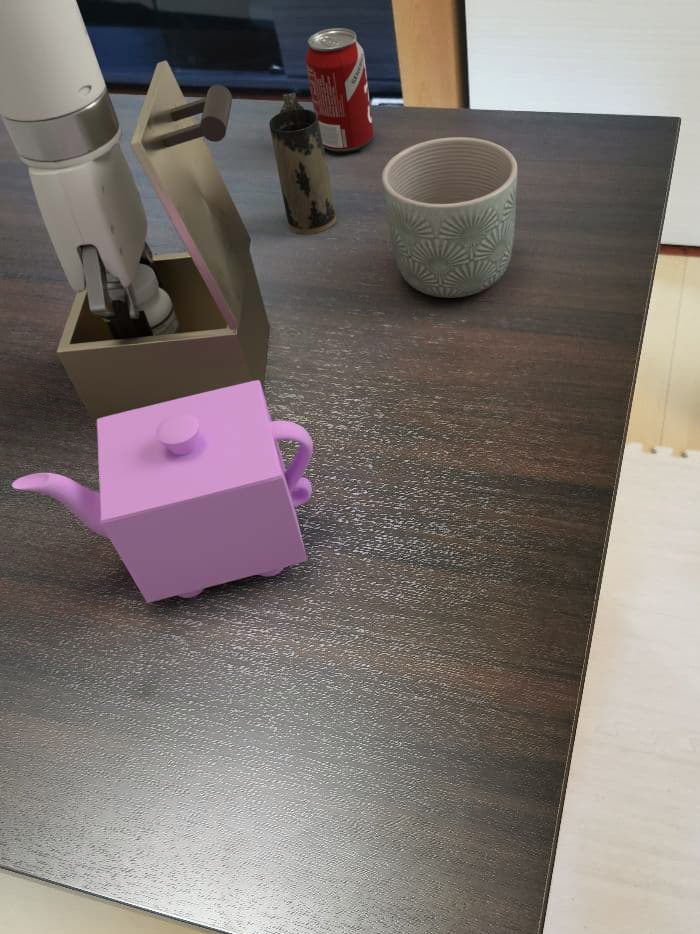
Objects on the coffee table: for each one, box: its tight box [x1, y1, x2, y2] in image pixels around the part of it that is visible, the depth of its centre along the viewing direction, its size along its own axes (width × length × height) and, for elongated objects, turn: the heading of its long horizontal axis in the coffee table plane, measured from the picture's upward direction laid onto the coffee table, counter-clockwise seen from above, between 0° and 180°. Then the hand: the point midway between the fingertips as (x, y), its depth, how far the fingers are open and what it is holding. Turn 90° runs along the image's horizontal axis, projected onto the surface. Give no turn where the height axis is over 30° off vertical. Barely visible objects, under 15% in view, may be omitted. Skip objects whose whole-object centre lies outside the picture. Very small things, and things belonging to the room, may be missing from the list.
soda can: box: [305, 27, 374, 154], centre depth 100 cm, size 7×7×12 cm
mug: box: [268, 91, 338, 235], centre depth 90 cm, size 8×6×12 cm
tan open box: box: [56, 250, 271, 430], centre depth 75 cm, size 15×13×9 cm
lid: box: [129, 60, 252, 330], centre depth 65 cm, size 16×13×5 cm
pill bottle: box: [106, 264, 183, 336], centre depth 74 cm, size 6×6×10 cm
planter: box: [381, 136, 519, 299], centre depth 81 cm, size 12×12×11 cm
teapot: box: [11, 380, 314, 604], centre depth 60 cm, size 20×10×12 cm, turn 105°
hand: (145, 327), depth 74 cm, fingers closed on pill bottle, 5 cm apart
